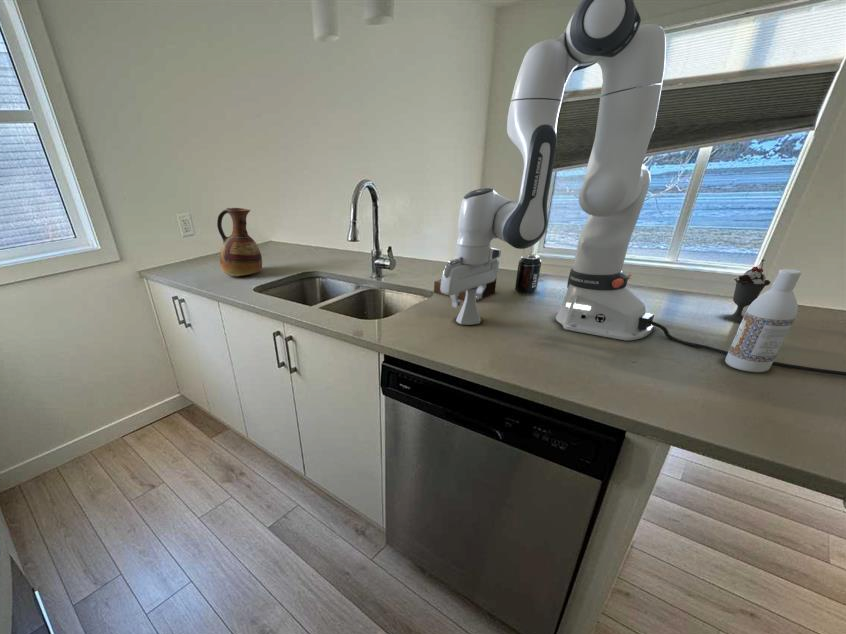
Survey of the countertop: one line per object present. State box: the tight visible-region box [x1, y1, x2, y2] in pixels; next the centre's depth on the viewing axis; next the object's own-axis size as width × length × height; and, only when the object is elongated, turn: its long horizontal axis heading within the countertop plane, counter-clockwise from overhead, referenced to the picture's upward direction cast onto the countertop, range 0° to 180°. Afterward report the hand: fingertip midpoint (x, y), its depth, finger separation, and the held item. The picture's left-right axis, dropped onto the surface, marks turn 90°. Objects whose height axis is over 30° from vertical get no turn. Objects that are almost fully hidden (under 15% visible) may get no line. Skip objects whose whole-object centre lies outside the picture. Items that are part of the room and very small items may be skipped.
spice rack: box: [433, 257, 500, 301], centre depth 139 cm, size 17×12×14 cm
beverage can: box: [514, 254, 542, 295], centre depth 134 cm, size 7×7×12 cm
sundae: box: [722, 259, 771, 323], centre depth 101 cm, size 7×7×15 cm
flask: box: [455, 287, 482, 326], centre depth 117 cm, size 7×7×10 cm
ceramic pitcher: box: [216, 207, 263, 277], centre depth 188 cm, size 20×20×30 cm
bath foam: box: [724, 268, 802, 373], centre depth 80 cm, size 7×7×20 cm
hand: (466, 302), depth 117 cm, fingers open, 8 cm apart
